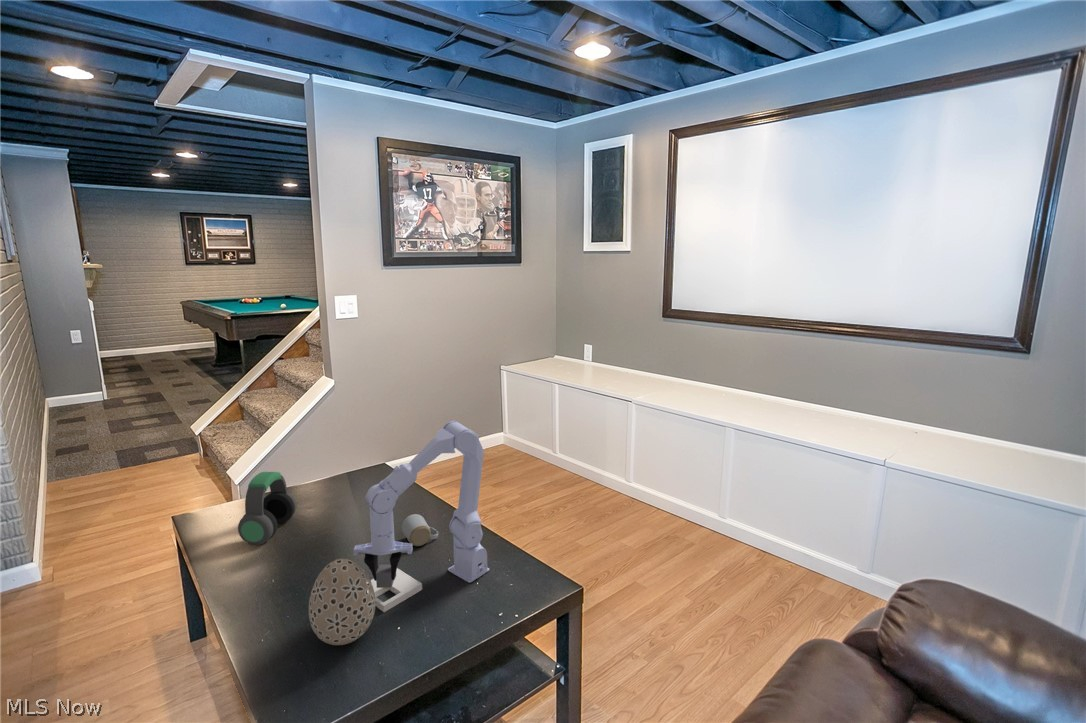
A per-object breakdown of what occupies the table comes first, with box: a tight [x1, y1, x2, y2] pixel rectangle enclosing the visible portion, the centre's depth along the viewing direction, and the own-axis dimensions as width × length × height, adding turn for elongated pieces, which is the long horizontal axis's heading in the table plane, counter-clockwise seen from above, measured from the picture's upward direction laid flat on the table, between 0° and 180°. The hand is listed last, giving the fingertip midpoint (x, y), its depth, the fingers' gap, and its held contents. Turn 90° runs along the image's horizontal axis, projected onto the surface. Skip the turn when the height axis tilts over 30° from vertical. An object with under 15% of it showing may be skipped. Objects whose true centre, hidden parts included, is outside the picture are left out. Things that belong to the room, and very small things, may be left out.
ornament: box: [308, 558, 376, 646], centre depth 123 cm, size 15×15×20 cm
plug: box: [376, 564, 394, 589], centre depth 138 cm, size 4×4×5 cm
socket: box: [367, 567, 423, 613], centre depth 142 cm, size 12×12×2 cm
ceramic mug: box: [401, 513, 439, 547], centre depth 167 cm, size 11×8×8 cm
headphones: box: [237, 471, 298, 546], centre depth 170 cm, size 19×11×20 cm, turn 179°
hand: (385, 578), depth 138 cm, fingers closed on plug, 4 cm apart
